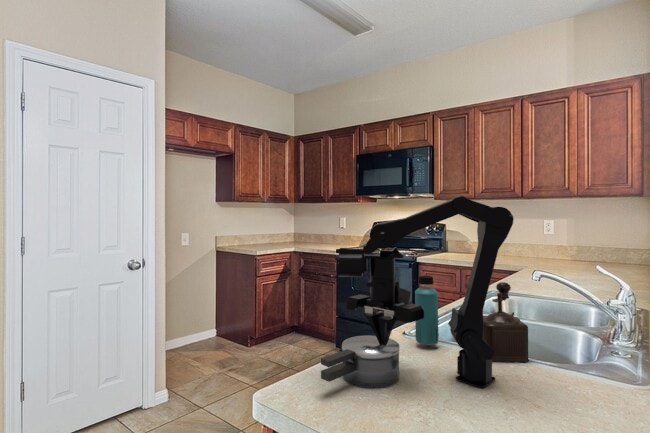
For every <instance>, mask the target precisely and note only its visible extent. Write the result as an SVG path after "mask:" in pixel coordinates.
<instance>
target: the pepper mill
mask: <svg viewBox="0 0 650 433" xmlns="http://www.w3.org/2000/svg"><path fill="white" fill-rule="evenodd" d="M495 287H496V290H497V292H498V293H496V294H497V295H496V296H497V297H496V298H492V299H491V301H492V302H493V303H497V307H498V308H497V309H498V310H497V311H496V312H492V313H489V314H488V315H483V320H484V333H483V338H484V340H485V341H486V342H487V343H488V344H489V345H490V347H491V348H492V349H493V350H494V354H493V357H492V363H510V364H511V363H514V364H515V363H522V364H526V363H529V362H530V360H529V326H528V325H527V324H526V323H524V322H523V321H521V319H520V318H519V317H517V316H514V315H515V312H512V313H511V314H510V313H507V312H505V311H504V310H503V304H502V303H503V301H506V300H507V299H510V296H509V292H510V291H511V289H512V287H511V285H510V284H509V283H508V282H504V281H503V282H501V281H500V282H499V283H497V284H496V286H495Z"/></svg>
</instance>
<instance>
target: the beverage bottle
mask: <svg viewBox="0 0 650 433" xmlns="http://www.w3.org/2000/svg"><path fill="white" fill-rule="evenodd" d="M418 284H419V285H424V286H420V287H418V288H417V289H415V291H414V294H415V295H414V297H415V298H414V299H415V300H414V301H415V303H414V304H415V305H421V306H422V308H423V310H424V318H423V319H420V320H417V321H414V323H415V330H414V332H415V334H414V336H415V339H414V340H416V343H418V344H421V345H426V346H427V345H429V346H430V345H436V344H438V343H439V339H440V338H439V337H440V335H439V322H440V321H439V306H438V301H439V300H438V295H439V293H438V291H437V290H436V289H435V288H434V287H430V286H431V285H434V277H433V276H431V275H420V276H418ZM426 285H427V286H426ZM429 285H430V286H429Z"/></svg>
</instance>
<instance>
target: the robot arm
mask: <svg viewBox="0 0 650 433" xmlns="http://www.w3.org/2000/svg"><path fill="white" fill-rule="evenodd" d="M457 215H459V216H462V217H464V218H466V219H468V220H470V221H473V222H475V223H477V229H476V232H477V248H476V252H475V256H474V259H473V264H472V267H471V271H470V274H469V279H468V283H467V287H466V290H465V295H464V299H463V302H462V304H461V305H460V307H459V309H457V308H454V307H452V310H451V318H450V319H449V322H448V323H447V325H448V326H449V327H450V328H449V330H450V333H451V335H452V337H453V338H454V340H455V342H456V343H457V345H458V346H459V347H460V348H461V349H460V350H458V356H457V357H456V358H457V359H456V360H457V361H456V362H457V363H456V365H457V366H456V367H457V375H456V377H455V380H456V381H457V382H458V381H459V382H462V383H464V384H468V385H471V386H474V387H477V388H480V389H485V388H486V387H488V386H489V385H491V384H492V383H493V382H495V381H496V377H494V376H493V362H492V357H493V354H494V350H493V349H492V348H491V347H490V345H489V344H488V343H487V342H486V341H485V340H484V338H483V333H484V320H483V316H484V307H485V304H486V301H487V300H486V299H487V295H488V292H489V288H490V284H491V280H492V276H493V272H494V269H495V265H496V261H497V256H498V253H499V250H500V248H501V246H502V245H503V244H504V242H505V241H506V240H507V238H508V235H509V234H510V231H511V229H512V227H513V225H514V216H513V214H512V212H511V210H509V209H507V208H506V207H503V206H489V205H487V204H484V203H481V202H477V201H475V200H471V199H470V198H467V197H466V196H462V195H459V196H458V195H457V196H453V197H452V198H450V199H449V200H447V201H444V202H442V203H438V204H436V205H434V206H431V207H429V208H426V209H423V210H421V211H419V212H416V213H414V214H411V215H409V216H406V217H403V218H398V219H393V220H388V221H383V222H378V223H377V224H375V225H373V226H372V227H371V229H370V231H369V239H368V241H366V243H363V246H362V248H348V247H339V249H338V261H337V275H338V278H349V277H350V278H363V276H364V275H365V274H366V273H368V259H369V277H370V278H369V281H366V287H370V289H369V291H370V292H369V294H370V295H365V294H357V295H352V296H348V297H347V300H346V301H345V309H346V310H348V311H352V312H353V311H356V310H357V309H359V308H360V307H361V308H364V313H363V314H362V316H363V317H365V319H366V320H367V322H368V324H369V326H370V328H371V329H372V331H373V333H374V336H376V338H377V340H378V342H379V344H381V345H382V344H383V345H384V346H385V345H387V343H388V340H389V339H390V336H391V334H392V331H393V328H394V326H395V325H396V322H397V321H398V322H402V323H406V324H407V323H408V324H409V323H410V324H411V323H415V321H417V320H420V319H423V318H424V310H423V308H422V306H421V305H415V303H410V300H411V295H412V291H410V290H407V289H404V288H402V287H400V281H398V280H396V259H403V258H404V254H402V253H401V252H400V251H399V250H398V247H397V246H395V247H393V249H392V250H389V248H390V247H392V246H394V245H395V244H397V243H399V242H400V241H401V240H403V239H404V238H406V237H407V236H409V235H410V234H413V233H414V232H417V231H419V230H422V229H425V228H427V227H429V226H431V225H434V224H437V223H440V222H442V221H444V220H447V219H450V218H453V217H454V216H457ZM379 249H380V250H379ZM384 249H385V250H384ZM386 249H388V250H386ZM378 250H379V254H377V253H376V254H373V253H374V252H376V251H378Z"/></svg>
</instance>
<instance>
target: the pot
mask: <svg viewBox="0 0 650 433" xmlns="http://www.w3.org/2000/svg"><path fill="white" fill-rule="evenodd" d="M341 377H342V378H343V380H344V381H345V382H346V383H348V384H349V385H352V386H354V387H357V388H363V389H384V388H388V387H392V386H394V385H396V384H397V383H399V380H400V352H399V353H398V354H397V355H395V356H393V357H389V358H384V359H363V358H357V357H355V358H352V359H350V360H347V361H344V362H342V363H339V364H336V365H334V366H331V367H327V368H325V369H322V370H320V379H322V380H324V381H326V382H328V383H329V382H332V381H335V380H337V379H339V378H341Z"/></svg>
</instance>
